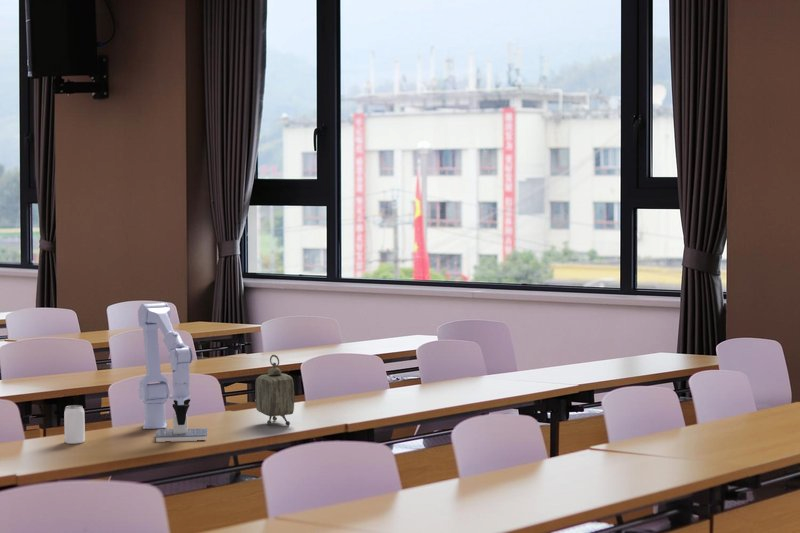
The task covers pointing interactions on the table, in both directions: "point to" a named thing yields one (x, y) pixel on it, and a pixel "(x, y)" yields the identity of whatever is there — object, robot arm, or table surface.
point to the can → (74, 424)
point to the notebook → (181, 435)
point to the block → (179, 426)
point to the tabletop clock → (275, 393)
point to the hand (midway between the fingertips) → (181, 422)
